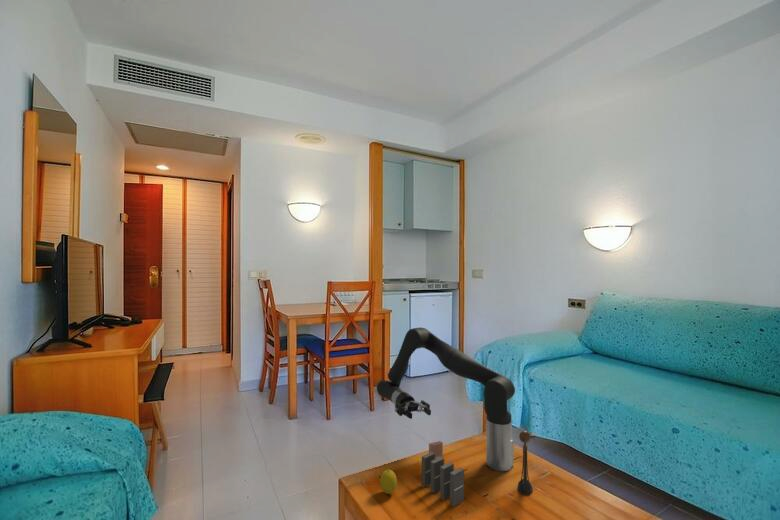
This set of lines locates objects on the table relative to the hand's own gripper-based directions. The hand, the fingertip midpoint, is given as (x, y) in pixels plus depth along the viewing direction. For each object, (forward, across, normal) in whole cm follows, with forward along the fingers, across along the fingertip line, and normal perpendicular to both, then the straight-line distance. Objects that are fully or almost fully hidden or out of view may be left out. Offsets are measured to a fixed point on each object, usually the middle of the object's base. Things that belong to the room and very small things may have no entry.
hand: (420, 414), depth 146 cm
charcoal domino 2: (+22, -6, +16) cm, 28 cm away
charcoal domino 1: (+18, -7, +16) cm, 25 cm away
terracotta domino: (+12, 0, +16) cm, 20 cm away
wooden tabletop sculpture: (+34, +22, +16) cm, 44 cm away
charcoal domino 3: (+26, -4, +16) cm, 31 cm away
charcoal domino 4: (+30, -3, +16) cm, 34 cm away
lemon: (+17, -22, +17) cm, 32 cm away
